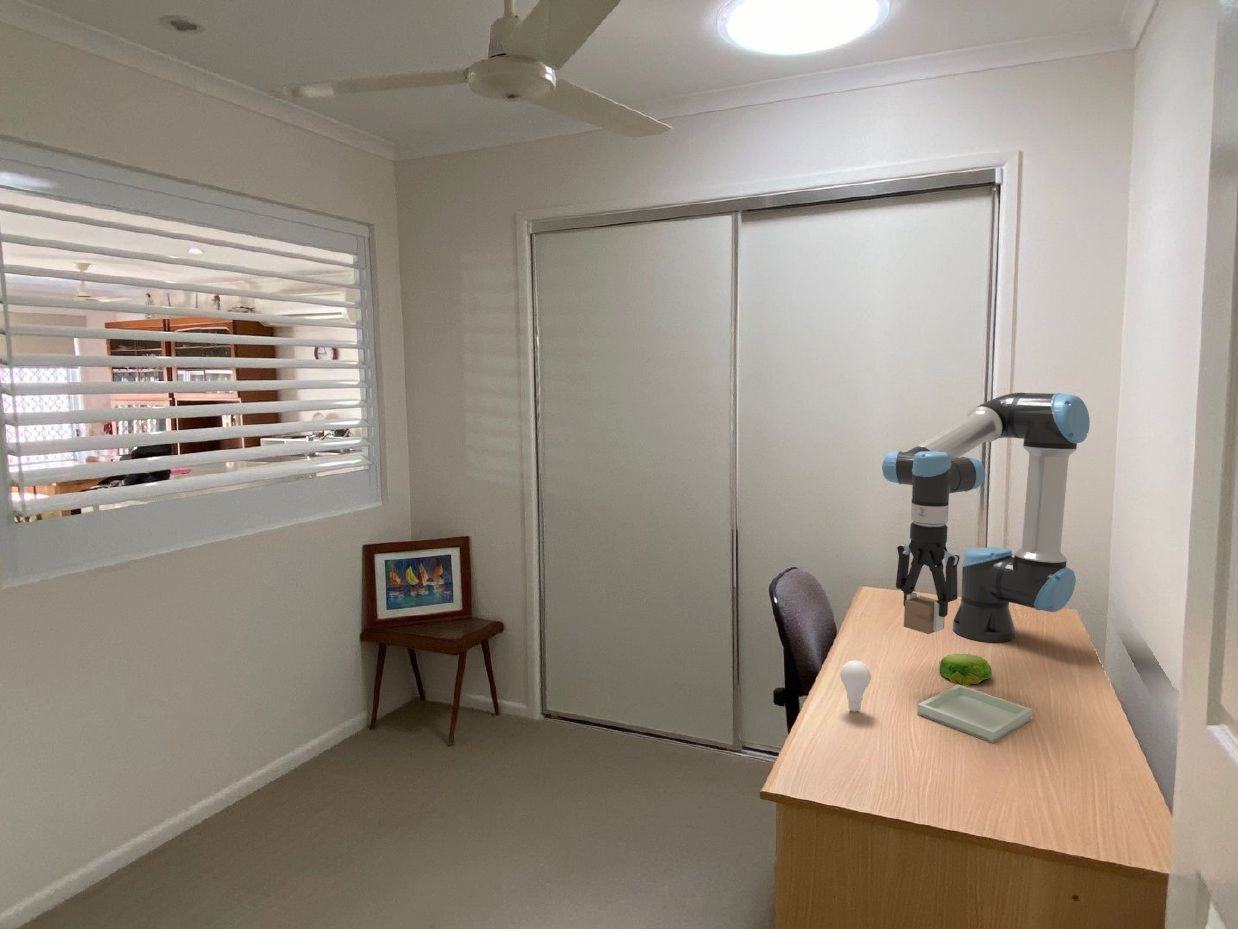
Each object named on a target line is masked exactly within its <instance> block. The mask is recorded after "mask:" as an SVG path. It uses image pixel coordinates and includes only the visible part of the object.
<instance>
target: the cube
mask: <svg viewBox="0 0 1238 929" xmlns="http://www.w3.org/2000/svg"><path fill="white" fill-rule="evenodd" d="M936 601H938V599H934V598H931V597H927V596H922V595H917V597H915V598H912V599H908V600H905V607H904V613H903V614H904V615H903V627H904V628H907V629H910V630H914V631H917V632H920V633H923V634H926V635H930V634H933V633H936V632H935V631H933V624H934V603H935V602H936ZM945 618H946V616H945V617H944V619H945ZM944 629H945V625H944V626H943V630H944Z"/></svg>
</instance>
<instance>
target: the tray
mask: <svg viewBox="0 0 1238 929" xmlns="http://www.w3.org/2000/svg"><path fill="white" fill-rule="evenodd" d="M1033 711H1034V710H1033V708H1031V707H1027V706H1023V705H1021V704H1018V703H1015V702H1012V701H1009V700H1006V699H1003V698H1000V697H996V696H994V695H990V694H988V693H985V692H983V691H980V690H977V689H973V688H971V687H968V686H966V685H963V684H960V683H958V684H956V685H953V686H952V687H950V688H948V689H946V690H944V691H941V692H939V693H938V694H935V695H934V696H931V697H930V698H927V699H925V700H923V701H922V702H919V703H917V712H916V714H917V715H918V716H921V717H923V718H926V719H929V720H931V721H933V722H937V723H939V724H942V725H945V726H947V727H949V728H952V729H954V730H958V731H960V732H963V733H965V734H967V735H969V736H970V735H971V736H973V737H974V738H975V737H976V738H978V739H981V740H982V741H983V740H984V741H986V742H989V743H990V744H995V743H996V742H998V741H999V740H1001V739H1003V738H1004V737H1006V736H1007V735H1009V734H1010V733H1013V731H1015V730H1017V729H1019V728H1020V727H1022V726H1024V725H1025V724H1027V723H1028V722H1031V721H1032V720H1033Z"/></svg>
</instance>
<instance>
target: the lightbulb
mask: <svg viewBox="0 0 1238 929" xmlns="http://www.w3.org/2000/svg"><path fill="white" fill-rule="evenodd" d="M839 674H840V675H839V676H840V680H841V682H842V684H843V686H844V688H845V690H846V691H845V692H846V698H847V704H848V705H847V706H848V709H849V710H850V711H851V712H853V713H857V712H859V711H861V709H862V701H863V699H864V694H865V690H866V689H867V688H868V686H869V684H870V683H871V679H872V674H871V670H870V669H869V667H868V666H867V664H865V662H862V661H860V660H849V661H847V662H846V663H844V664H843V666H842V667H841V669H840V673H839Z"/></svg>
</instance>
